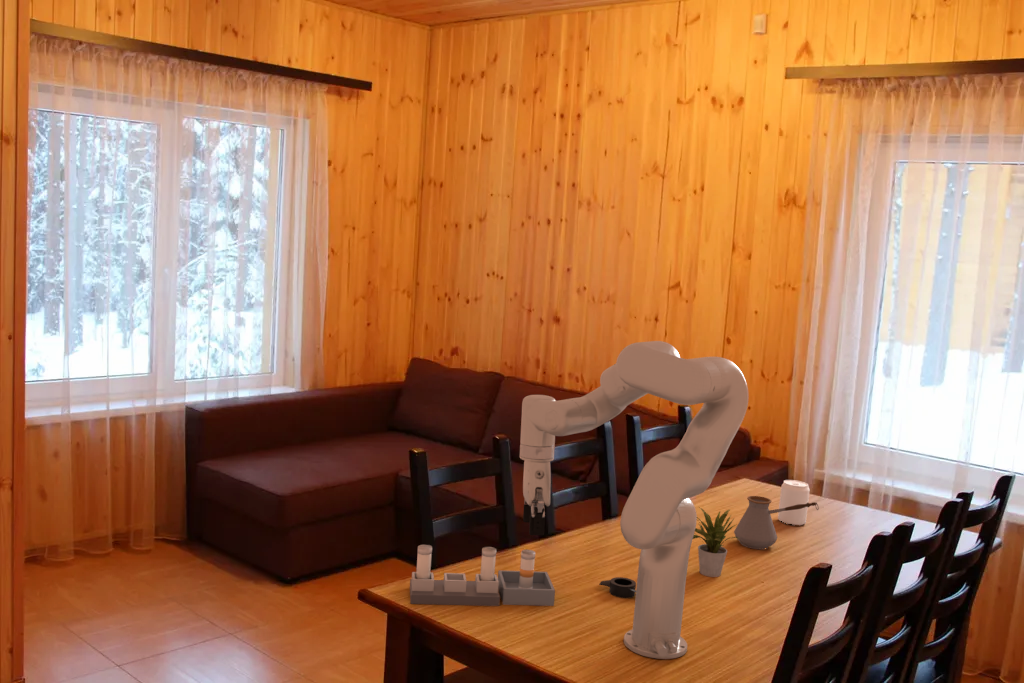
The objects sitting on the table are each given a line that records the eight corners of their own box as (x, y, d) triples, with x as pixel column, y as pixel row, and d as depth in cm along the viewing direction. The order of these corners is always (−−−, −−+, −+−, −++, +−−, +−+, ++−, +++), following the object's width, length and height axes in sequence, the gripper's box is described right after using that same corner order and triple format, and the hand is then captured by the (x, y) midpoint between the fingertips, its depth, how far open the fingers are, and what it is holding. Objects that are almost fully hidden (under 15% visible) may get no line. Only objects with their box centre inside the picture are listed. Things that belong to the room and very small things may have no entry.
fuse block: (499, 606, 210) (500, 585, 210) (410, 603, 208) (411, 583, 207) (494, 590, 219) (496, 570, 219) (409, 587, 217) (411, 568, 216)
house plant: (693, 557, 252) (699, 495, 250) (745, 570, 245) (752, 507, 243) (672, 572, 240) (679, 507, 238) (727, 586, 233) (734, 519, 231)
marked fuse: (533, 593, 216) (536, 554, 215) (519, 593, 216) (522, 554, 215) (531, 588, 219) (534, 549, 218) (517, 588, 219) (520, 549, 218)
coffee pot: (727, 545, 265) (733, 491, 263) (739, 535, 275) (745, 483, 273) (808, 563, 255) (814, 507, 253) (817, 552, 265) (823, 498, 263)
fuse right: (494, 591, 213) (497, 551, 212) (479, 591, 213) (482, 551, 211) (492, 586, 216) (495, 547, 215) (478, 586, 216) (481, 546, 215)
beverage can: (777, 523, 289) (781, 484, 287) (778, 516, 296) (782, 478, 295) (805, 528, 286) (810, 488, 285) (805, 520, 294) (810, 482, 293)
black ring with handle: (624, 584, 230) (625, 572, 229) (648, 600, 221) (649, 588, 220) (596, 587, 226) (597, 575, 226) (619, 604, 217) (620, 591, 217)
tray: (553, 605, 213) (555, 590, 212) (502, 604, 211) (504, 588, 211) (545, 586, 224) (547, 571, 223) (497, 585, 222) (498, 570, 222)
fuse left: (429, 590, 211) (432, 549, 210) (415, 589, 211) (418, 549, 210) (429, 584, 214) (431, 545, 213) (414, 584, 214) (417, 544, 213)
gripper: (560, 460, 206) (556, 540, 207) (547, 444, 223) (544, 517, 224) (525, 460, 205) (521, 540, 206) (515, 443, 222) (511, 517, 223)
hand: (533, 528), depth 215 cm, fingers open, 9 cm apart
